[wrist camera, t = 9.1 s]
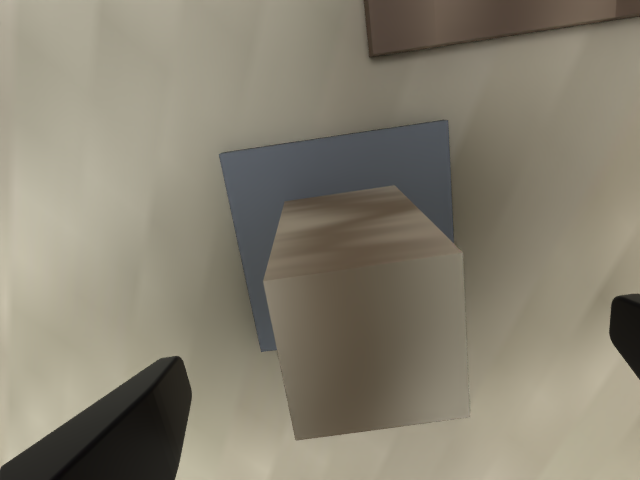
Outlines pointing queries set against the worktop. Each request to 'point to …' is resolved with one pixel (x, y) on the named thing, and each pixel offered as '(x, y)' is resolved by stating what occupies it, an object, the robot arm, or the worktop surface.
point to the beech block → (367, 314)
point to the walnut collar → (477, 20)
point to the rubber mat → (330, 187)
